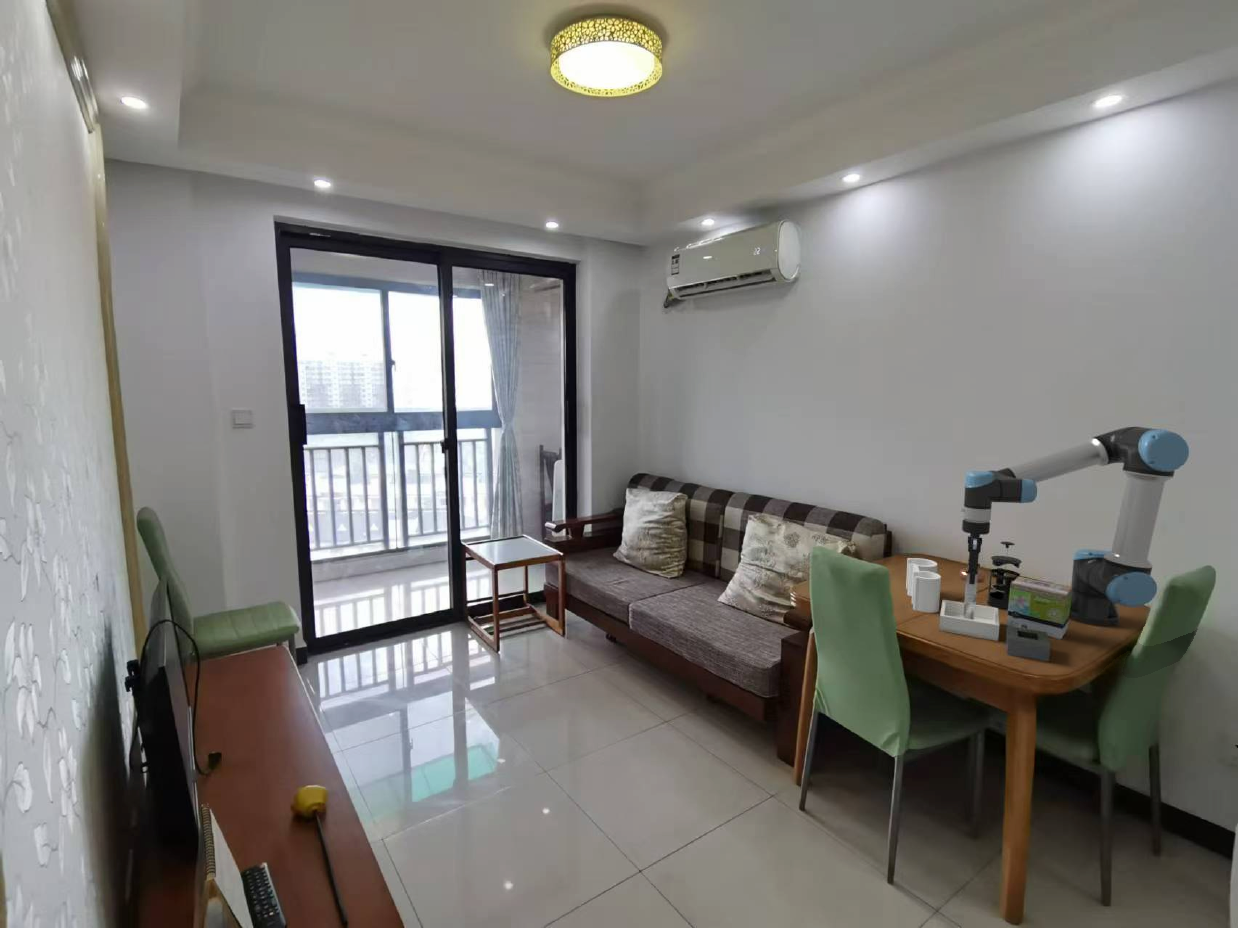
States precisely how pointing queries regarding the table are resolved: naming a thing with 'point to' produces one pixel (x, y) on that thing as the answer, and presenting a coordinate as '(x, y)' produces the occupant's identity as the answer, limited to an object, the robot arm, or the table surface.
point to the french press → (1002, 590)
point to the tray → (978, 627)
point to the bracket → (923, 584)
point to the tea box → (1039, 606)
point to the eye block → (1027, 643)
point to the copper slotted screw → (970, 598)
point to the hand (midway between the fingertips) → (971, 589)
